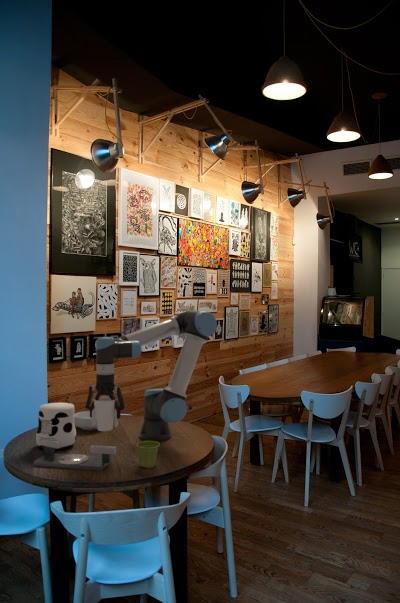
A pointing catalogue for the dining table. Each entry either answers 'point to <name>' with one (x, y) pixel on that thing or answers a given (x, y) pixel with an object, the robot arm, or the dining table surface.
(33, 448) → the dining table surface
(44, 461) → the shaft stand
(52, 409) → the milk container
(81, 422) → the cereal bowl
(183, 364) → the robot arm
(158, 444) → the plant pot
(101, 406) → the foam cup
